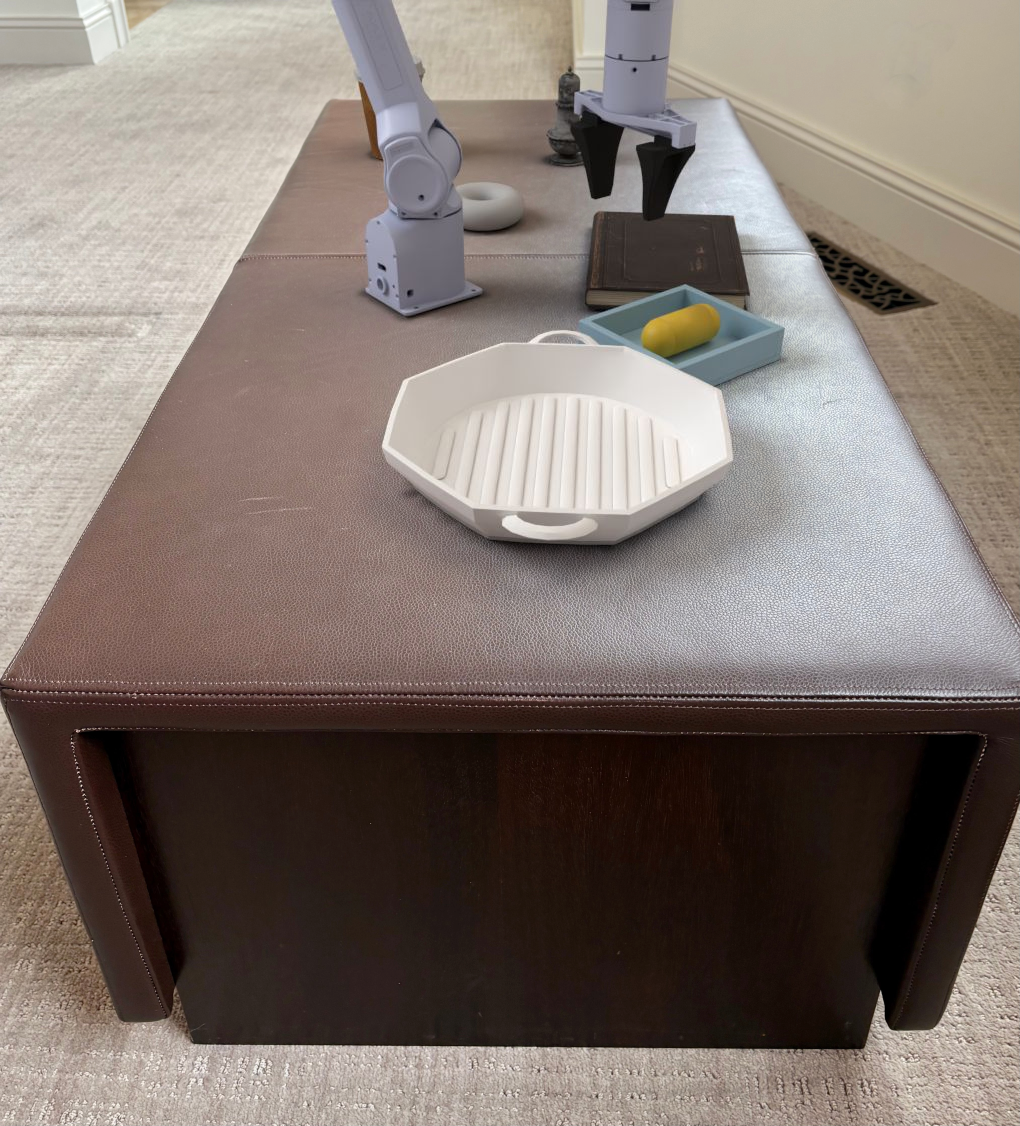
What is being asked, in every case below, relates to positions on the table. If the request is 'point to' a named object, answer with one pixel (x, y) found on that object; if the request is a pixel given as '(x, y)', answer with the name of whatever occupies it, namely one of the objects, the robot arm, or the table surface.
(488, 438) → the pan
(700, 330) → the yellow rounded capsule
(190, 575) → the table surface
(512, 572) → the table surface
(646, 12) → the robot arm
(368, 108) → the disposable coffee cup
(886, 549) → the table surface
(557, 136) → the salt shaker
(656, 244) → the hardcover book
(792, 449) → the table surface
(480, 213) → the donut
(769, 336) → the tray
